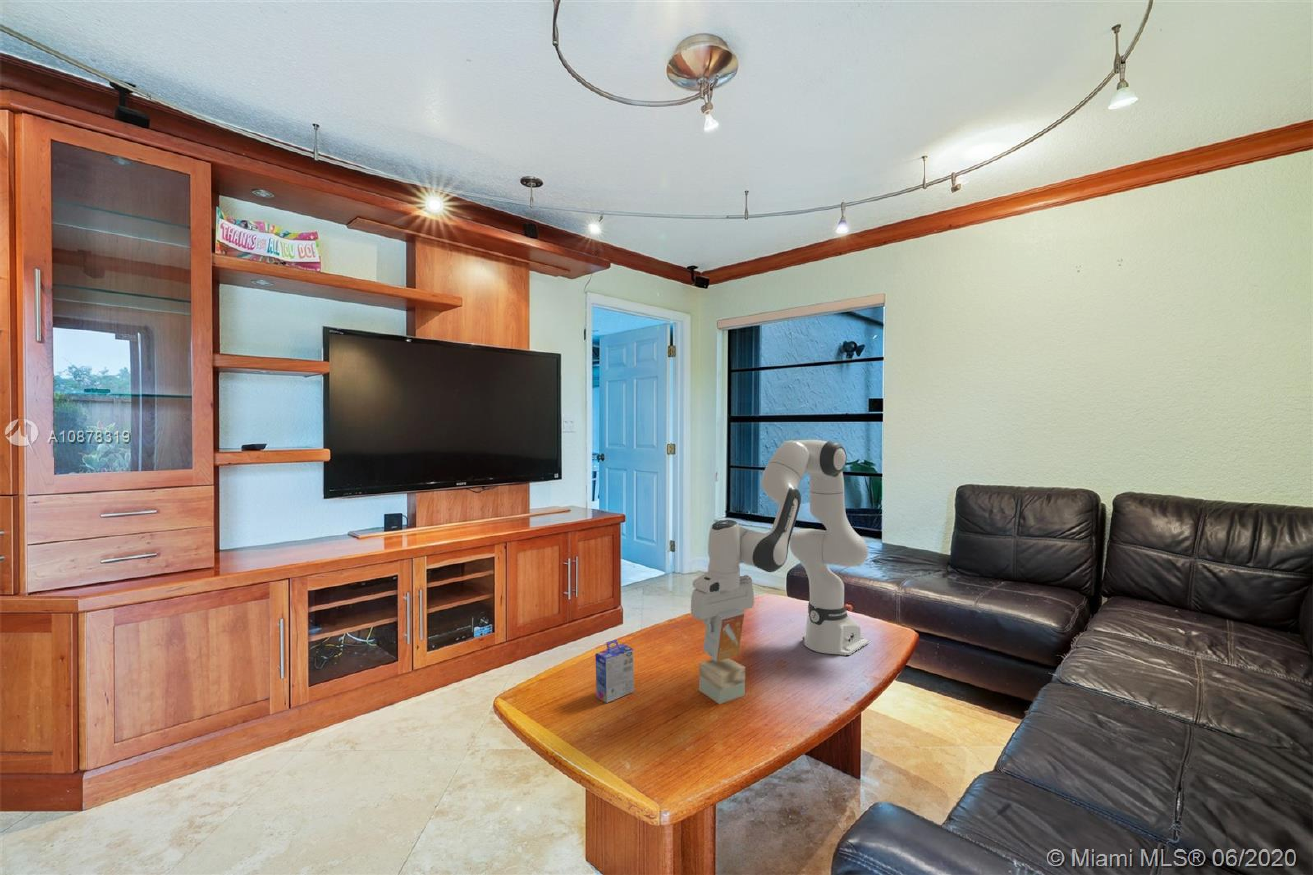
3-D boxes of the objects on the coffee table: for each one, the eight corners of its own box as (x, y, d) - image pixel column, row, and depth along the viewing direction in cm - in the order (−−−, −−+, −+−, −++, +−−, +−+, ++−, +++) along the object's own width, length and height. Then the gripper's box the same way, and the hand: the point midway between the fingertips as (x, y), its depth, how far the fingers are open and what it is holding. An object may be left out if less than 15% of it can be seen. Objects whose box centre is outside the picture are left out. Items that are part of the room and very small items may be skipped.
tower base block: (723, 683, 159) (723, 669, 159) (744, 696, 152) (744, 682, 151) (699, 691, 154) (699, 677, 154) (719, 705, 147) (719, 690, 147)
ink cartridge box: (622, 684, 157) (622, 634, 157) (635, 692, 153) (635, 640, 152) (594, 696, 150) (594, 644, 150) (606, 704, 146) (606, 650, 146)
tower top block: (723, 669, 159) (723, 655, 159) (745, 681, 152) (745, 667, 152) (699, 677, 154) (699, 663, 154) (720, 690, 147) (720, 676, 146)
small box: (716, 662, 149) (722, 619, 146) (702, 650, 154) (707, 608, 152) (739, 655, 153) (745, 613, 151) (724, 643, 159) (730, 602, 156)
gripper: (744, 571, 160) (743, 618, 161) (687, 582, 149) (687, 632, 150) (759, 576, 155) (758, 625, 155) (701, 588, 144) (701, 640, 144)
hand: (723, 628), depth 152 cm, fingers closed on small box, 8 cm apart
